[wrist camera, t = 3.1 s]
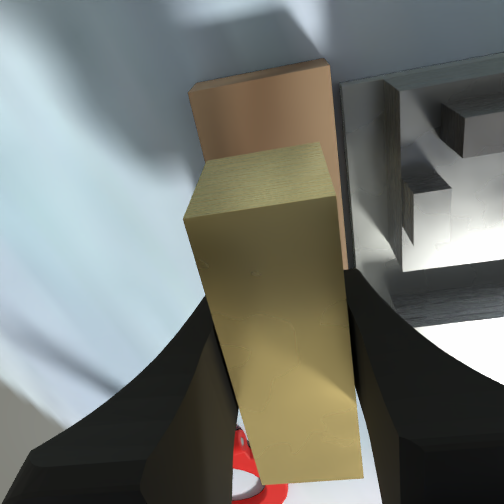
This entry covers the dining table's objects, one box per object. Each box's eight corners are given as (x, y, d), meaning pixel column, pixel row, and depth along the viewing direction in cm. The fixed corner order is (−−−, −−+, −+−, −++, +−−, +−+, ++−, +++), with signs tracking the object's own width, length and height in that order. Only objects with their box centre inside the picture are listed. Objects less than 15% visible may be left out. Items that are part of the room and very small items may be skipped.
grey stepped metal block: (619, 30, 15) (761, 44, 11) (547, 369, 24) (610, 454, 19) (339, 82, 17) (363, 114, 12) (363, 387, 25) (383, 471, 21)
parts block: (323, 57, 16) (329, 65, 15) (346, 291, 22) (352, 316, 20) (196, 83, 17) (187, 92, 15) (248, 303, 22) (246, 329, 21)
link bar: (319, 141, 11) (336, 195, 8) (346, 385, 16) (363, 478, 13) (206, 160, 12) (182, 219, 8) (264, 393, 16) (262, 485, 13)
